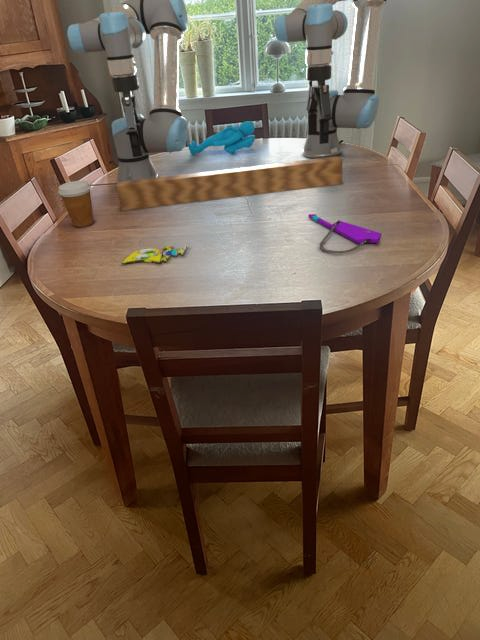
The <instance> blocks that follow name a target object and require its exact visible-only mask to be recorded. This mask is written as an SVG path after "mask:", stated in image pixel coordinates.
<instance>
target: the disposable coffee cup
mask: <svg viewBox="0 0 480 640" xmlns="http://www.w3.org/2000/svg"><path fill="white" fill-rule="evenodd" d="M58 195H59V196H60V197H61V199H62V201H63V203H64V206H65V208H66V211H67V213H68V215H69V218H70V221H71V223H72V225H73V227H78V228H80V227H81V228H82V227H87V226H90V225H92V224H93V223H94V221H95V220H94V213H93V211H94V210H93V203H92V196H91V195H92V194H91V185H90V184H89V182H88V181H86V180H73V181H69V182H65V183H62V184H61V185H59V186H58Z"/></svg>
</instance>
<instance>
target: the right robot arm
mask: <svg viewBox="0 0 480 640" xmlns="http://www.w3.org/2000/svg"><path fill="white" fill-rule="evenodd" d="M345 1H347V0H301V2H299V4H298V5H297V6H296V7H295V8H294V9H293V10H292V11H291V12H290V13H288V14H286V13H285V14H281V15H278V16H277V17H276V18H275V21H274V23H273V31H274V37H275V39H276V42H279V43H287V44H288V43H300V42H305V43H306V48H305V49H306V50H305V64H306V66H307V67H306V68H305V72H306V73H305V78H306V81H308V92H307V99H306V106H305V107H306V108H305V110H306V118H307V119H306V123H307V125H306V127H307V128H306V129H307V131H306V133H307V135H306V139H305V142H304V144H303V148H302V155H303V156H304V157H305V158H307V159H319V158H327V157H336V156H340V155H341V152H342V148H341V144H342V143H343V142H344V140H343V139H341V140H339V137H338V129H357V130H359V129H368V128H370V127H371V126H372V125H373V123H374V122H375V119H376V116H377V114H378V112H379V111H378V110H379V105H380V103H379V101H380V98H379V95H377V94H376V89H375V87H374V86H373V77H374V69H375V60H376V52H377V44H378V35H379V27H380V20H381V12H382V9H383V8H384V7H385V6H386V5H387V0H352V6H353V7H354V8H355V17H354V26H353V33H352V34H353V35H352V45H351V52H350V53H351V55H350V62H349V63H350V64H349V71H348V72H349V73H348V82H347V85H346V86H345V87H344V88H343V89H342V94H339V91H338V89H336V90H335V89H333V90H330V85H329V84H326V81H329V80H331V78H332V65H331V64H332V58H333V57H332V56H333V55H334V51H333V48H332V47H333V40H334V41H335V40H338V39H339V38H341V37H343V36H344V34H345V33H346V32H347V29H348V26H349V25H348V24H349V23H348V18H347V16H346V14H345V13H344V12H343V11H340V10H338V9H336V10H335V9H333V8H334V5H335V4H337V3H338V2H345Z"/></svg>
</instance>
